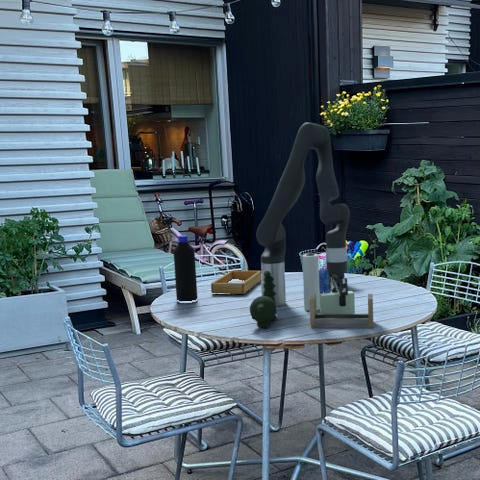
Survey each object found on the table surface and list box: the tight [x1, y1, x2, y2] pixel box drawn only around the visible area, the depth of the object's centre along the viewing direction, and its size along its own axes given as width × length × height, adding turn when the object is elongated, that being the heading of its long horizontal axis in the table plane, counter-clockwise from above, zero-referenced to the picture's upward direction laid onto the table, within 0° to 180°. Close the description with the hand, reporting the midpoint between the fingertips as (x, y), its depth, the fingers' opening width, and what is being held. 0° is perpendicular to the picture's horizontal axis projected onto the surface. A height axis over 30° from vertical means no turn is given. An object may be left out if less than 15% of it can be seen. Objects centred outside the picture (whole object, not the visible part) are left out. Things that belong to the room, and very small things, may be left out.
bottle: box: [173, 234, 198, 301], centre depth 261 cm, size 9×9×28 cm
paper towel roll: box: [302, 252, 320, 312], centre depth 238 cm, size 7×6×21 cm
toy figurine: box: [249, 271, 278, 329], centre depth 222 cm, size 9×19×25 cm
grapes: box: [319, 267, 332, 294], centre depth 261 cm, size 12×7×12 cm, turn 78°
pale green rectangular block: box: [319, 290, 356, 314], centre depth 225 cm, size 12×4×9 cm, turn 99°
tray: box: [210, 270, 262, 295], centre depth 285 cm, size 31×15×6 cm, turn 164°
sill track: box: [309, 293, 374, 329], centre depth 215 cm, size 21×8×10 cm, turn 79°
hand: (338, 303), depth 225 cm, fingers open, 8 cm apart
